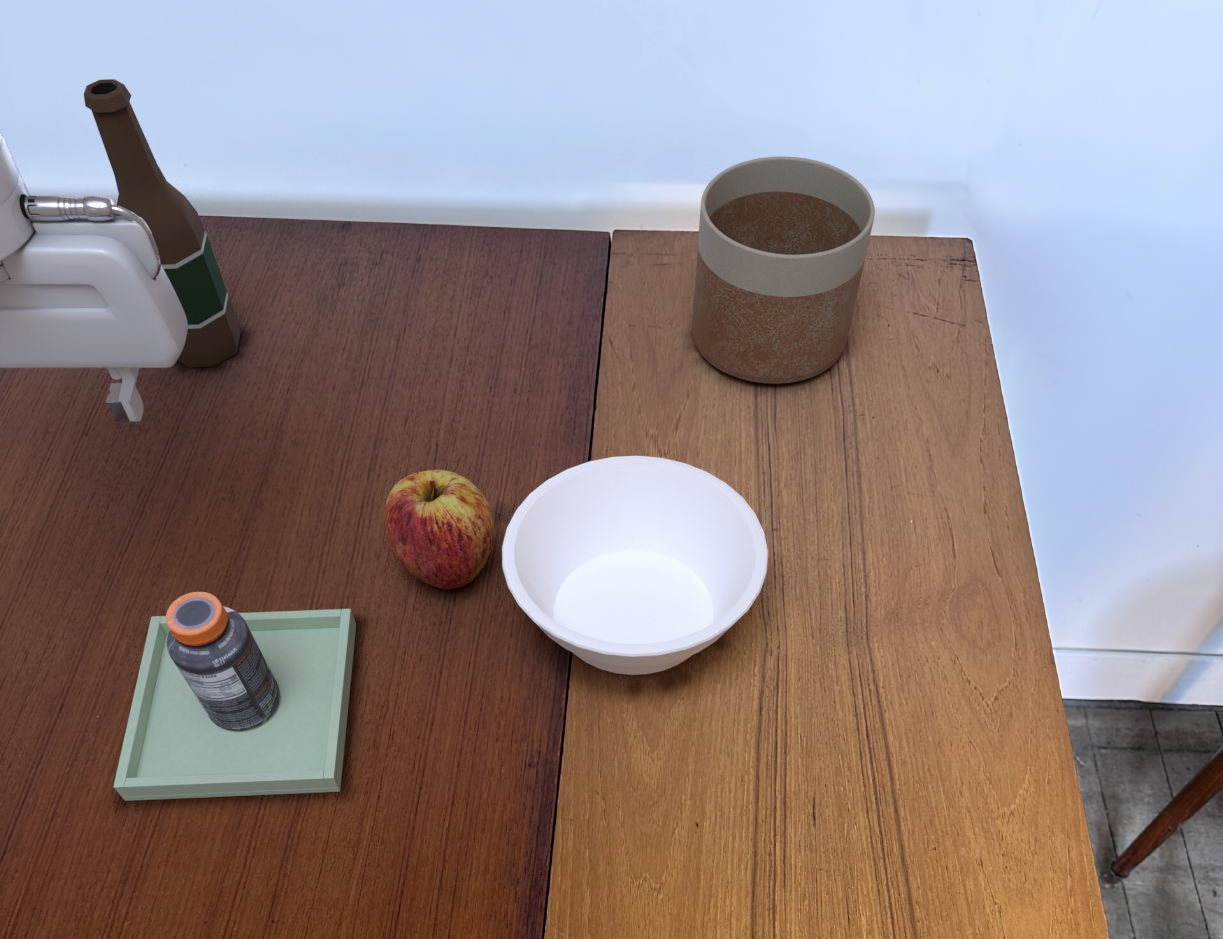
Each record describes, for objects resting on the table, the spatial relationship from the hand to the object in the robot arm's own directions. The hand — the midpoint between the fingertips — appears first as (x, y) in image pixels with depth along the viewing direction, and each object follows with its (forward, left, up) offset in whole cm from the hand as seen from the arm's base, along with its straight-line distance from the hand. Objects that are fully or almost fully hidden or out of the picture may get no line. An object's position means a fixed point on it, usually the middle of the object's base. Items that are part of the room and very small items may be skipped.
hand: (56, 416), depth 65 cm
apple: (+22, +7, -24) cm, 33 cm away
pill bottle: (+6, -7, -23) cm, 25 cm away
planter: (+54, +37, -24) cm, 69 cm away
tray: (+6, -7, -23) cm, 25 cm away
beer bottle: (-4, +39, -24) cm, 46 cm away
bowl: (+38, +1, -24) cm, 44 cm away
